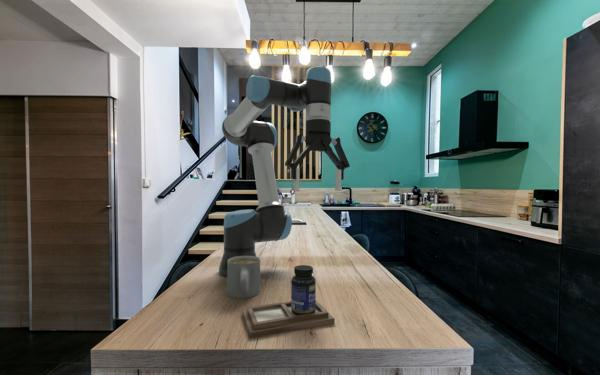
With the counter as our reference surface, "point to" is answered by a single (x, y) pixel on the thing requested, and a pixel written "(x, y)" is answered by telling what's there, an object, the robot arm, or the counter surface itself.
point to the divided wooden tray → (282, 319)
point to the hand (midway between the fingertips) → (317, 190)
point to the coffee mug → (243, 276)
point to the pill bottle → (303, 290)
